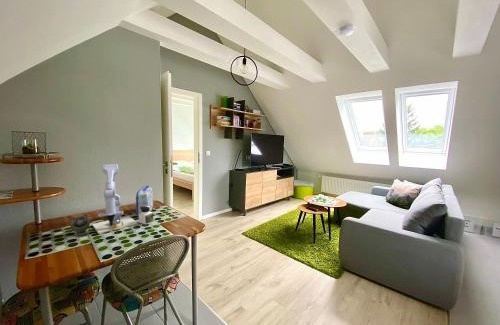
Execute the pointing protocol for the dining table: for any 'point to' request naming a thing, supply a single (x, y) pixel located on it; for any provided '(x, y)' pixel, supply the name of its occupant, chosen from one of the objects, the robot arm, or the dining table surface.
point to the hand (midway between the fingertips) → (111, 225)
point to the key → (115, 222)
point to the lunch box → (144, 199)
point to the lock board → (105, 226)
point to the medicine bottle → (145, 215)
